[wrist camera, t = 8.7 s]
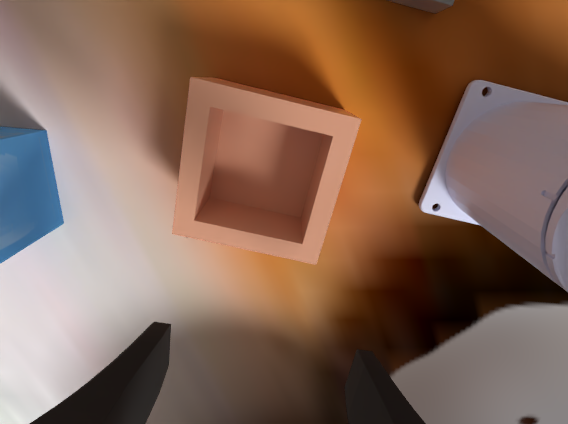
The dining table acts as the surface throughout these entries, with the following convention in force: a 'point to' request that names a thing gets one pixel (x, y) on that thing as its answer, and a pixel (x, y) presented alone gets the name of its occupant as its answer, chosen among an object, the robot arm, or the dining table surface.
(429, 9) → the tray
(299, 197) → the peach hollow square block
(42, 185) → the perfume bottle
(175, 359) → the dining table surface
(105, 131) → the dining table surface
